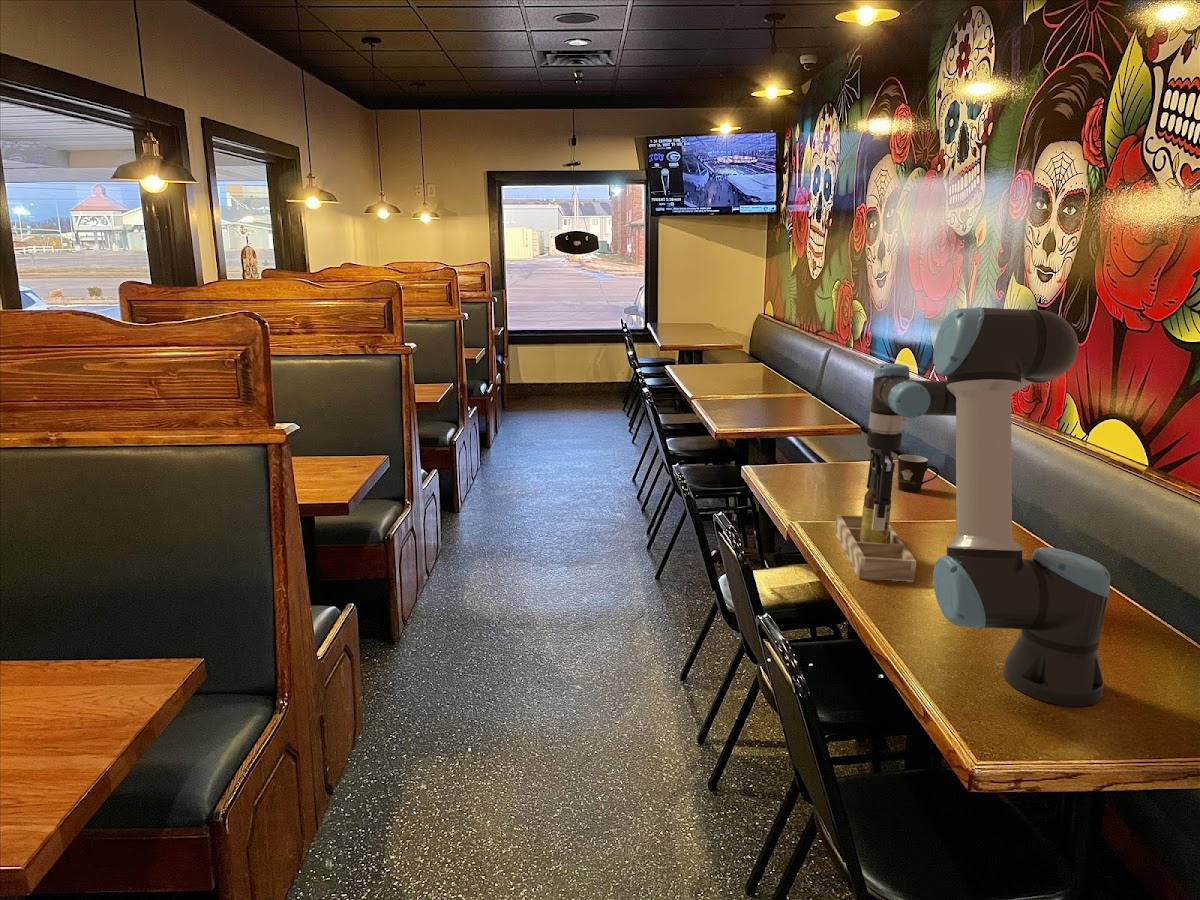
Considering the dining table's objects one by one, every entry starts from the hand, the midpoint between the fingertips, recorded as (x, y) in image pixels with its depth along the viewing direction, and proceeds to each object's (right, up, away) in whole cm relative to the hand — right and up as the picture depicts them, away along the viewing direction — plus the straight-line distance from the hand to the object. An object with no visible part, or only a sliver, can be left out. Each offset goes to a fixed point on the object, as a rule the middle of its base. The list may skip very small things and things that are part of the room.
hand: (874, 525), depth 200 cm
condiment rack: (0, -8, +2) cm, 8 cm away
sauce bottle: (0, -6, +1) cm, 6 cm away
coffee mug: (+30, +5, +57) cm, 65 cm away
